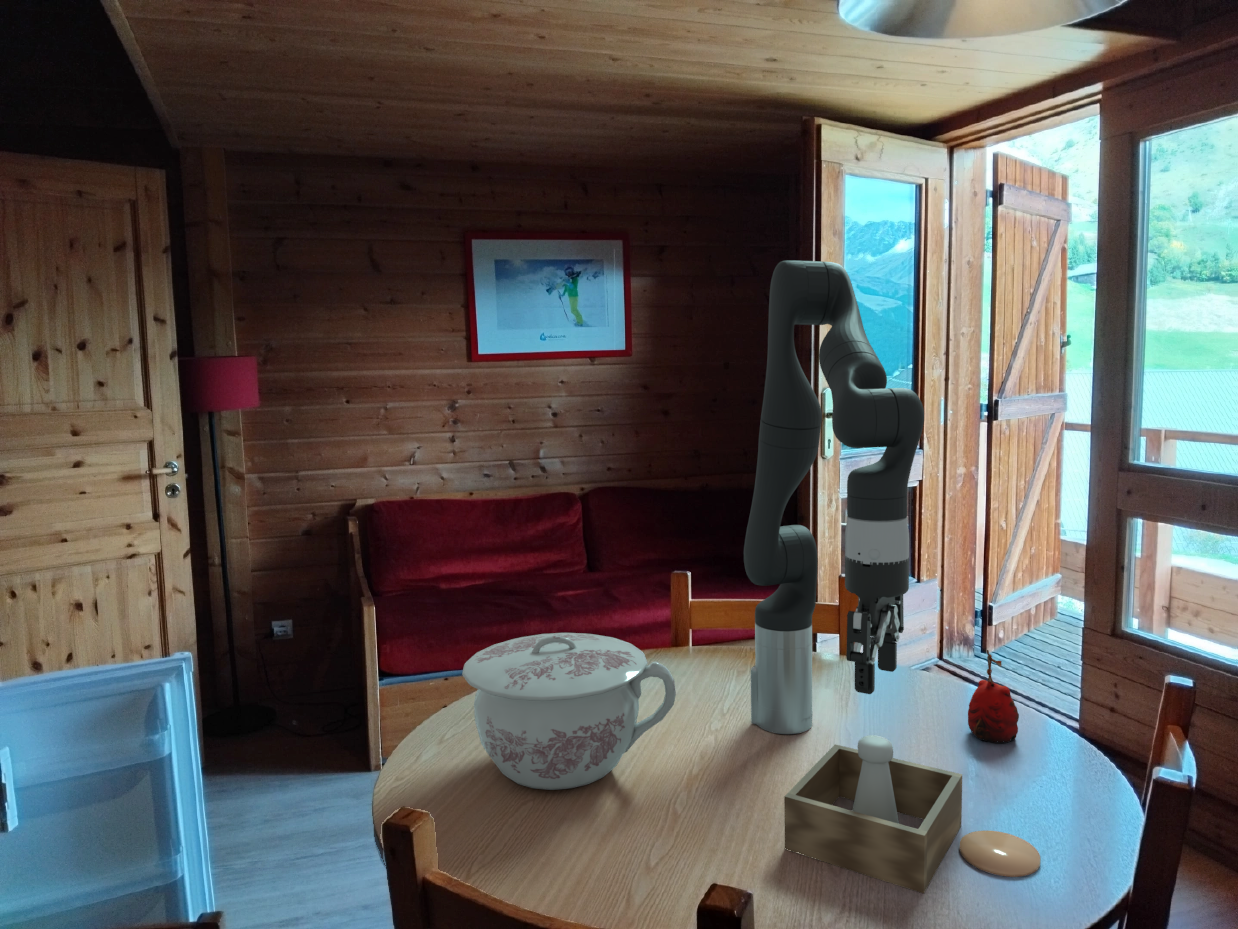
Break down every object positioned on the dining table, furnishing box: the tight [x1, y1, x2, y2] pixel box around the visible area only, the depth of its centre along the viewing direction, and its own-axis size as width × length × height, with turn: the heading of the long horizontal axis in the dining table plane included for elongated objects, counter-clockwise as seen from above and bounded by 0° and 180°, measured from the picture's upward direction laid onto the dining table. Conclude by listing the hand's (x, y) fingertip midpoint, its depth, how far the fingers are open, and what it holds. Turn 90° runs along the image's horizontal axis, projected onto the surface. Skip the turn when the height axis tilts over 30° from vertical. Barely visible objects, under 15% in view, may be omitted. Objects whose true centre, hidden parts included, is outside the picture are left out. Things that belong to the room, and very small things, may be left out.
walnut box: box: [783, 743, 963, 894], centre depth 111 cm, size 17×17×7 cm
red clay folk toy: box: [967, 649, 1020, 744], centre depth 138 cm, size 8×7×15 cm
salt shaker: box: [851, 734, 900, 824], centre depth 111 cm, size 6×6×13 cm
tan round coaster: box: [959, 830, 1041, 878], centre depth 107 cm, size 9×9×1 cm
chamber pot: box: [461, 632, 677, 791], centre depth 131 cm, size 28×28×21 cm
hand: (876, 681), depth 109 cm, fingers open, 8 cm apart
